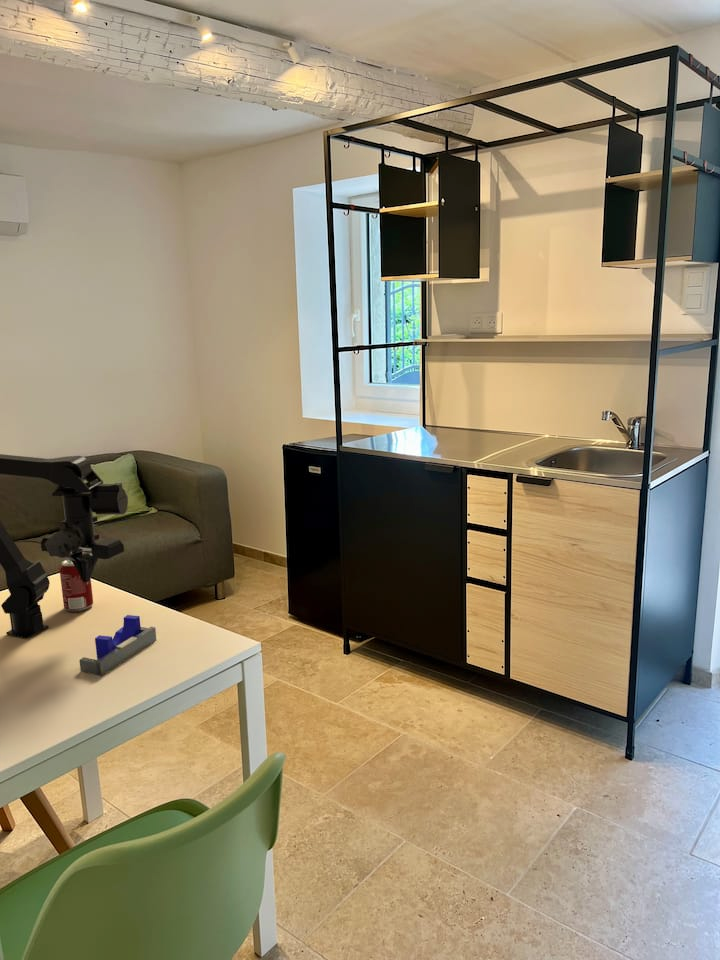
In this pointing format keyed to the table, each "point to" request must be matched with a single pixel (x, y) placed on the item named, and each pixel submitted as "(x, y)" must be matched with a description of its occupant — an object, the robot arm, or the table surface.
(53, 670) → the table surface
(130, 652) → the stop bracket
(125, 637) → the cable clip
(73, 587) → the soda can
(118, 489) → the robot arm
